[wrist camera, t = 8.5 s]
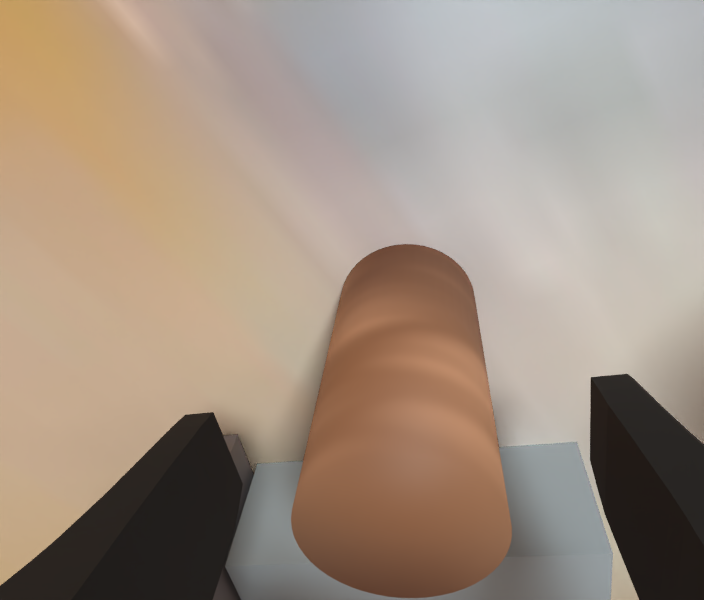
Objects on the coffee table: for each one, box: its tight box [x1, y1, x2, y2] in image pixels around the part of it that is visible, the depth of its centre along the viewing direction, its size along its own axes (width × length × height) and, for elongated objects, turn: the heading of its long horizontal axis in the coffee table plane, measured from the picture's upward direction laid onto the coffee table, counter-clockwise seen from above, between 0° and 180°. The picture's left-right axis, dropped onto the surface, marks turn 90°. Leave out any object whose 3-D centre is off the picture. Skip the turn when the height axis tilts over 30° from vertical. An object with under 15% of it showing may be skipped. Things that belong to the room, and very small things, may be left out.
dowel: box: [291, 244, 512, 598], centre depth 12 cm, size 4×4×7 cm
